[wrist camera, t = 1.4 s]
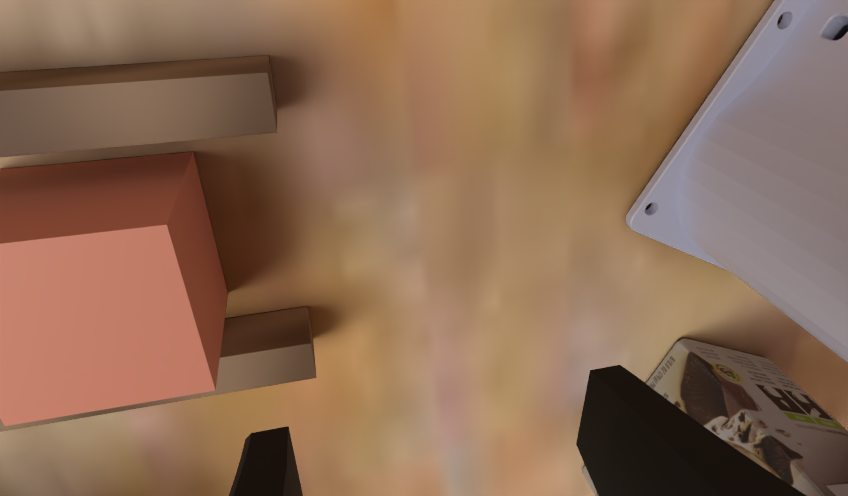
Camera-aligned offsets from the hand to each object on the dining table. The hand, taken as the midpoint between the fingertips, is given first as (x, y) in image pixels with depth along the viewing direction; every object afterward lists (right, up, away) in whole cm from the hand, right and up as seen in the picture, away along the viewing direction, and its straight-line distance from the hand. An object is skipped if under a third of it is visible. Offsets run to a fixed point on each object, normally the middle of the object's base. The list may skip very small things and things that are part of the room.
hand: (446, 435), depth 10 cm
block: (-9, +4, +6) cm, 12 cm away
